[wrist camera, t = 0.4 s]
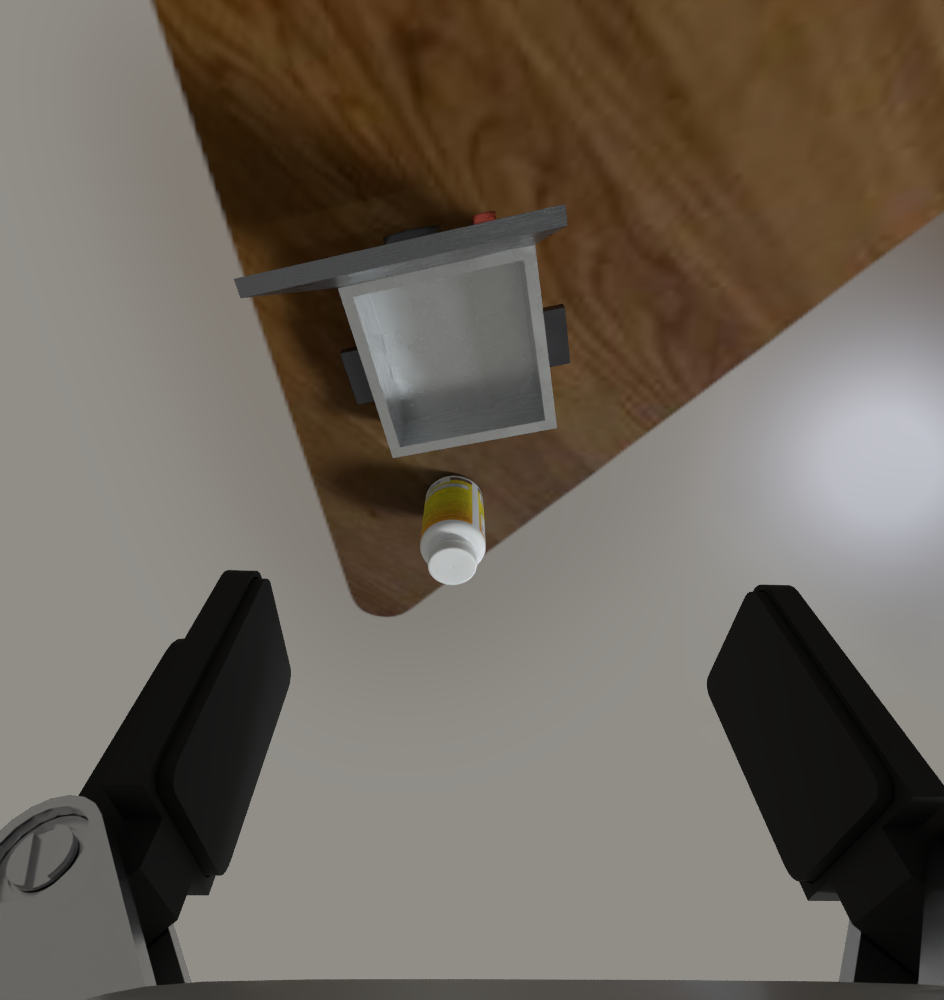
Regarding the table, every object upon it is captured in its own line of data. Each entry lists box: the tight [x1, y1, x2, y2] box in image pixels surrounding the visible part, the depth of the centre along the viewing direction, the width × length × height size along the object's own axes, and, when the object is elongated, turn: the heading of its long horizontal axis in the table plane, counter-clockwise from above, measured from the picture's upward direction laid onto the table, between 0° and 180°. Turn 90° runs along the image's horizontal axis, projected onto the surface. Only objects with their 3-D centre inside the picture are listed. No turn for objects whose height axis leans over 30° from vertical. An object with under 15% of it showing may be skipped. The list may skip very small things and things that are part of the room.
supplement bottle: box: [420, 476, 486, 585], centre depth 46 cm, size 6×6×10 cm
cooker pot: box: [338, 245, 570, 458], centre depth 39 cm, size 13×16×6 cm
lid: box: [234, 204, 567, 298], centre depth 26 cm, size 15×13×2 cm
